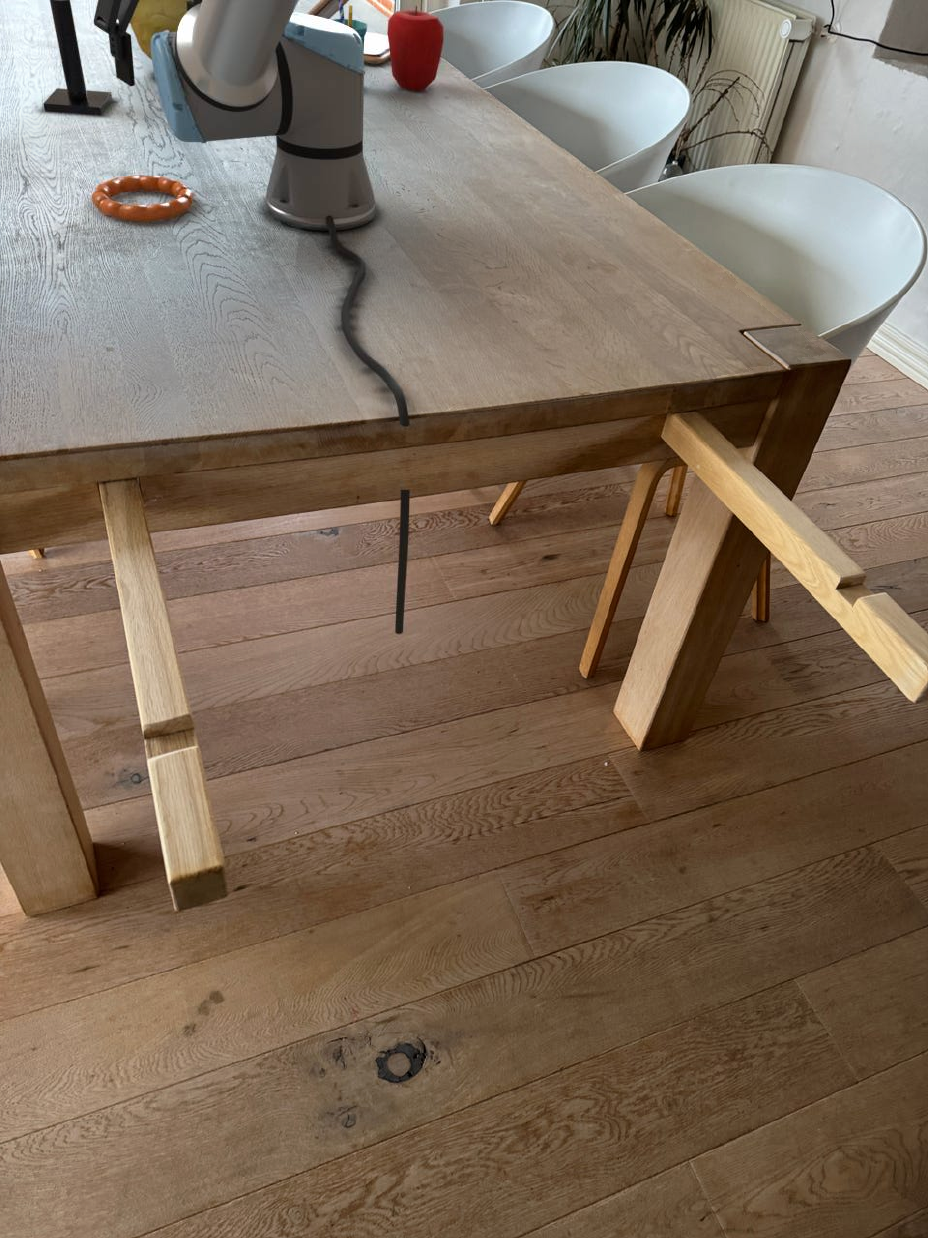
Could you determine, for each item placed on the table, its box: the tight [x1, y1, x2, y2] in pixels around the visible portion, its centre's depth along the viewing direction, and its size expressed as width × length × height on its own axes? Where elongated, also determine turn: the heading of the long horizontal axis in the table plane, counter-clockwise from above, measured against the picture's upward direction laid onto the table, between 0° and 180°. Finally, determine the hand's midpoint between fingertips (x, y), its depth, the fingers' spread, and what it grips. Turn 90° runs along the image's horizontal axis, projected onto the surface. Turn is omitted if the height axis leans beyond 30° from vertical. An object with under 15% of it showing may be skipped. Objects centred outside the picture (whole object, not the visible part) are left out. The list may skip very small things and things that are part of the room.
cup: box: [331, 0, 368, 55], centre depth 169 cm, size 14×8×15 cm, turn 24°
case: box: [306, 0, 390, 64], centre depth 190 cm, size 20×21×16 cm
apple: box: [386, 5, 445, 92], centre depth 174 cm, size 11×10×14 cm
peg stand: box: [42, 0, 113, 116], centre depth 148 cm, size 9×9×15 cm
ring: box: [91, 174, 195, 223], centre depth 125 cm, size 13×13×2 cm
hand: (162, 67), depth 129 cm, fingers open, 13 cm apart
